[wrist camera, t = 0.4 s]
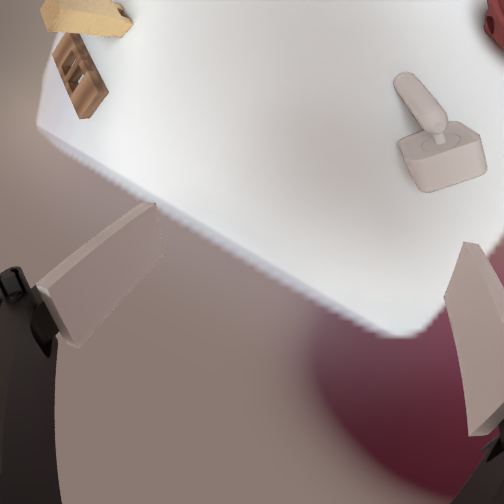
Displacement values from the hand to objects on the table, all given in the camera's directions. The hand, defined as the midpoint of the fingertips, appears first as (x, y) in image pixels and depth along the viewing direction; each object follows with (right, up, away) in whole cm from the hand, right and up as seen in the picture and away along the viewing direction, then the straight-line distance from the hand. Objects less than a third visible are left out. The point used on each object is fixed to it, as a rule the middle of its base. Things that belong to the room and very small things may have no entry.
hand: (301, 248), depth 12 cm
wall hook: (+18, +15, +16) cm, 28 cm away
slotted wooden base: (-34, +34, +30) cm, 57 cm away
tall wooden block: (-24, +39, +24) cm, 52 cm away
